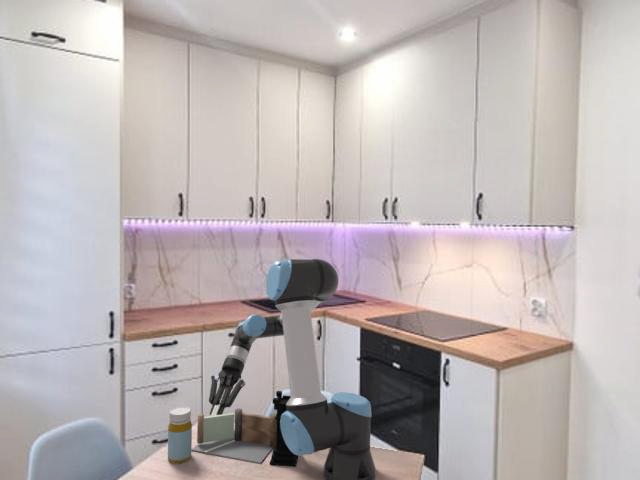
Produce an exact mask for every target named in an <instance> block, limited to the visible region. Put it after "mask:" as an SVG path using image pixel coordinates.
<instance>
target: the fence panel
mask: <svg viewBox="0 0 640 480" xmlns="http://www.w3.org/2000/svg"><path fill="white" fill-rule="evenodd" d="M196 426H197V428H196V429H197V434H196V436H197V437H196V439H197V440H196V443H197V444H202V443H204V442H211V441H217V440H224V439H230V438H234V431H235V412H231V413H223V414H222V415H214V416H211V415H208V416H205V414H204V413H198V414H197V425H196Z"/></svg>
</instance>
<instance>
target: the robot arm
mask: <svg viewBox="0 0 640 480" xmlns="http://www.w3.org/2000/svg"><path fill="white" fill-rule="evenodd" d="M267 271H268V272H267V274H266V279H265V292H266V294H267V298H268V299H269V300H271V301H273V302H274V304H275V305H274V306H275V308H277V310H279V311H280V314H278V315H270V316H263V315H261V314H259V313H254V314H251V315H249V316H248V317H247V318H246V319H245V320H244V321H240V322H239V324H238V325H237V328H236V329H235V332H234V335H233V338H232V340H231V343H230V346H229V348H228V349H227V350H228V351H227V353H226V356H225V359H224V361H223V364H222V366H221V370H220V371H219V373H218V374H217V375H212V376H211V377H210V379H211V386H210V392H209V397H208V403H210V405H211V409H210V411H209V416H214V415H222V414H224V411H225V409H226V408H231V407H232V405H233V404H234V402H235V400H236V398H237V396H238V395H239V393H240V391H241V390H242V388H243V387H245V385H246V382H245V380H244V379H243V378H242V374H243V371H244V369H245V364H246V363H247V360H248V357H249V353H250V351H251V348H252V345H253V343H254V342H255V341H256V340H257V339H264V338H266V339H267V338H271V337H272V338H274V337H283V339H284V345H285V347H284V348H285V349H284V350H285V357H286V366H287V374H288V384H289V392H290V393H289V394H290V396H291V397H290V399H289V400H288V402H287V403H286V407H287V411H285V412H284V413H283V414H282V415H281V420H280V427H281V432H282V436H283V439H284V441H285V443H286V445H287V447H288V448H289V450H290V451H291V452H292V453H294V454H295V455H299V456H304V455H312V454H314V453H317V452H321V451H325V450H327V449H329V450H328V454H327V456H326V459H325V461H324V465H323V476H324V478H325V479H326V480H376V465H375V461H374V459H373V456H372V452H371V430H372V429H371V427H372V426H371V424H372V417H373V416H372V415H373V414H372V405H371V402H370V401H369V399H367V398H366V397H364V396H362V395H360V394H357V393H353V392H343V391H342V392H335V393H333V395H332V396H331V399H330V400H331V401H330V402H328V398H327V397H326V396H325V395H324V394H323V393H322V391H321V385H320V384H321V383H320V375H319V367H318V361H317V351H316V345H315V336H314V328H313V321H312V319H313V318H312V312H313V311H314V310H315V309H316V308H317V307H318V306H319V305H320V304H321V303H324V302H327V301H328V300H330V298H332V297H333V295H335V293H336V292H337V289H338V287H339V283H340V282H339V275H338V272H337V270H336V269H335V267H334V266H333V265H332V264H331V263H330V262H329V261H326V260H324V259H319V258H316V259H315V258H313V259H311V258H310V259H304V258H303V259H302V258H300V259H290V258H288V259H283V260H282V259H281V260H276V261H274V262H272V264H271V265H270V267H269V268H268V270H267ZM218 382H219V383H218ZM218 385H219V386H218Z"/></svg>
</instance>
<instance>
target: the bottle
mask: <svg viewBox="0 0 640 480" xmlns="http://www.w3.org/2000/svg"><path fill="white" fill-rule="evenodd" d="M191 412H192V410H191V408H190V407H188V406H177V407H174V408H171V409H170V411H169V422H168V423H169V424H168V426H167V460H168V462H170V463H172V464H176V465H177V464H183V463H186V462H187V461H189V459H191V457H192V451H191V450H192V449H193V448H192V447H193V446H192V443H193V442H192V441H193V436H192V434H193V433H192V432H193V428H192V427H193V425H192V421H191V416H192V413H191Z"/></svg>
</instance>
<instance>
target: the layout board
mask: <svg viewBox="0 0 640 480" xmlns="http://www.w3.org/2000/svg"><path fill="white" fill-rule="evenodd" d="M273 450H274V447H270V446H269V445H263V444H257V443H251V442H246V441H242V440H240V441H235V430H234V438H230V439H224V440H217V441H211V442H204V443H202V444H198V443H197V444H196V445H195V446H194V447H193V448H192V449H191V452H194V453H195V452H196V453H199V454H200V453H201V454H207V455H211V456H217V457H222V458H228V459H232V460H233V459H234V460H239V461H244V462H250V463H253V464H260V465H261V464H262V463H263V462H264V460H265V459H266V458H267V457H268V456H269V454H270V453H271V452H272V451H273Z"/></svg>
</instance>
